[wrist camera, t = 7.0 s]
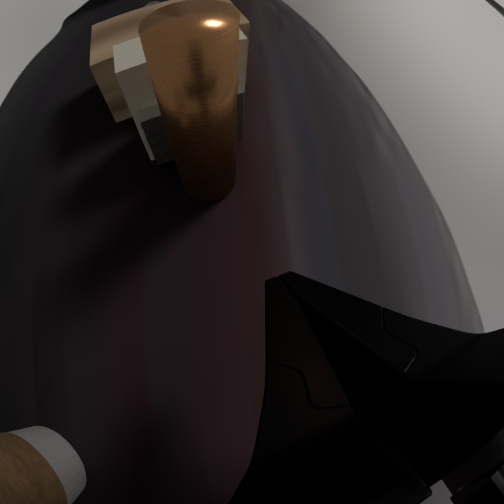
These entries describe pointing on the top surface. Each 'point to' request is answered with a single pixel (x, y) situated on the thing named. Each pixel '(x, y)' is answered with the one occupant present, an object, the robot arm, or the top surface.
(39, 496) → the coffee cup
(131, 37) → the bearing block
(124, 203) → the top surface
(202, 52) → the shaft
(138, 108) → the spacer
